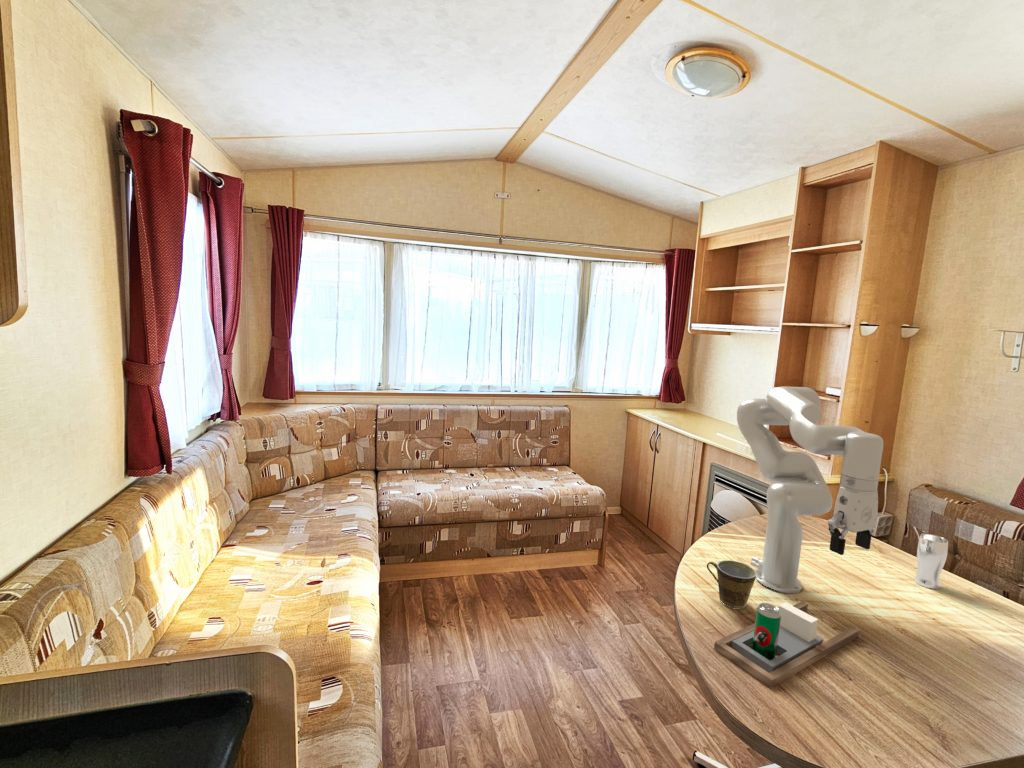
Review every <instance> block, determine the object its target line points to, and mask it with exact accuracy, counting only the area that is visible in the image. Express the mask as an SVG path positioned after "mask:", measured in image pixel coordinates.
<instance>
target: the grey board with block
mask: <svg viewBox="0 0 1024 768" xmlns="http://www.w3.org/2000/svg"><path fill="white" fill-rule="evenodd" d="M777 608H778V609H779V610H780V614H781V621H780V629H779V637H778V645H777V653H776V654H778V656H776V658H774V659H772V660H771V661H770V660H768V659H767V658H765V657H764V656H762V655H760V654H759V653H757V652H756V651H754V650H753V649H752V647H751V646H752V645H753V636H754V631H752V632H750V633H748V634H746V635H743V636H741V637H739V638H737V639H735V640H733V641H732V647H731V648H732V649H734V650H735V651H737V652H738V653H740V654H741V655H743V656H744V657H746V658H747V659H749V660H750V661H752V662H753V663H755V664H756V665H758V666H759V667H761V668H762V669H764V670H765V671H767V672H768V673H770V672H772V671H774V670H776V669H778V668H779V667H781V666H783V665H785V664H786V663H788V662H790V661H792V660H794V659H795V658H797V657H799V656H801V655H802V654H804V653H806V652H808V651H810V650H811V649H813V648H815V646H817V645H820V644H822V643H824V638H823V637H820V636H819V635H817V632H818V624H819V623H818V622H819V619H818V618H816V617H814V616H812V615H810V614H809V613H807V612H806V611H805V612H803V611H801V610H799V609H797V608H795V607H794V606H793V605H792V604H790V603H788V602H786V601H785V602H783V603H781V604H779V605H778V607H777Z"/></svg>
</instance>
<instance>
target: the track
mask: <svg viewBox="0 0 1024 768" xmlns="http://www.w3.org/2000/svg"><path fill="white" fill-rule="evenodd" d="M792 606H794V607H795V608H797V609H799V610H801V611H803V612H805V613H806V612H807V611H808V607H809V603H807V602H804V601H800V602H798V603H795V604H793V605H792ZM754 628H755V622H754V623H752V624H750V625H747V626H745V627H744V628H741V629H739V630H737V631H735V632H733V633H731V634H728V635H726V636H724V637H721V638H720V639H717V640H716V641H714V644H713V645H714V646H713V649H714V650H715V651H717V652H719V653H720V654H722V656H724V657H726V658H727V659H728V660H730V661H731V662H733V663H734V664H735V665H736V666H738V667H740V668H741V669H743V670H744V671H746V672H747V673H749V674H750V675H752V677H754V678H756V679H757V680H759V681H760V682H762V683H763V684H764V685H766V686H767V687H769V688H773V687H775V686H777V685H779V684H781V683H782V682H784V681H786V680H788V679H789V678H791V677H792V676H794V675H795V674H797V673H799V672H801V671H802V670H804V669H806V668H807V667H809V666H812V665H813V664H814V663H816V662H818V661H819V660H822V659H823V658H824V657H826V656H829V655H830V654H831V653H833V652H835V651H836V650H838V649H840V648H842V647H843V646H845V645H846V644H848V643H850V642H851V641H853V640H855V639H857V638H858V637H859V633H860V630H859V629H858V628H856V627H854V626H850V627H848V628H847V629H845V630H843V631H842V632H840V633H838V634H836V635H834V636H833V637H831V638H829V639H828V640H826V641H823V643H822V644H820V645H817V646H815V648H813V649H811V650H810V651H808V652H806V653H804V654H802V655H801V656H799V657H797V658H795V659H794V660H792V661H790V662H788V663H786V664H785V665H783V666H781V667H779V668H778V669H776V670H774V671H772V672H770V673H768V672H767V671H765V670H764V669H762V668H761V667H759V666H758V665H756V664H755V663H753V662H752V661H750V660H749V659H747V658H746V657H744V656H743V655H741V654H740V653H738V652H737V651H735V650H734V649H732V648H731V647H732V641H733V640H735V639H737V638H739V637H741V636H743V635H746V634H748V633H750V632H752V631H754Z"/></svg>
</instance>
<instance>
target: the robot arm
mask: <svg viewBox="0 0 1024 768" xmlns="http://www.w3.org/2000/svg"><path fill="white" fill-rule="evenodd" d="M765 397H766V398H750V399H747V400H744V401H742V402H741V403H739V405H738V407H737V410H736V422H737V425H738V429H739V430H740V432H741V435H743V438H744V439H745V440H746V443H748V445H749V446H750V450H751V452H752V455H753V456H754V459H755V461H756V464H757V466H758V468H759V470H760V472H761V475H762V476H763V477H764V478H765V480H767V481H770V482H774V483H772V484H770V485H769V486H768V487H767V490H766V504H767V505H766V506H767V518H766V519H767V520H766V528H765V530H766V531H765V538H764V545H763V554H762V559H760V558H759V557H757V556H752V558H751V562H750V565H751V566H753V567H755V568H757V570H755V572H756V578H755V580H756V579H757V580H758V581H759V582H760V583H761V584H760V583H759V582H758V581H757V580H756V581H757V582H758V583H759V584H760V585H762V584H763V585H764V586H763V585H762V586H763V587H765V586H766V587H765V588H767V587H769V588H771V589H770V590H772V589H774V590H773V591H775V590H777V591H776V592H778V591H781V592H780V593H783V592H785V593H784V594H797V593H800V592H801V591H802V589H803V583H802V581H801V580H800V579H798V575H799V574H798V573H799V566H800V558H801V550H802V543H803V535H804V533H803V532H804V531H803V526H802V524H801V522H800V521H799V519H798V516H800V515H801V516H802V515H807V516H808V515H813V516H814V515H815V516H816V515H817V516H818V515H819V516H821V515H825V514H828V512H829V513H830V511H831V510H832V508H834V509H833V515H832V517H830V518H829V519H828V520H827V525H828V531H829V535H830V542H829V550H830V551H831V552H833V553H836V554H838V555H840V556H844V553H845V548H846V547H845V546H846V538H845V537H846V536H847V534H848V532H850V533H856V535H855V542H854V544H855V545H856V546H858V547H860V548H862V549H865V550H870V549H871V542H872V537H873V536H872V534H873V533H874V531H875V530H874V529H875V528H876V527H877V524H878V518H879V513H878V509H879V494H878V486H879V478H880V474H881V473H880V472H881V464H882V459H883V458H882V457H883V450H884V439H883V438H882V437H881V436H880V435H878V434H875V433H871V432H866V431H864V430H862V429H860V428H858V427H856V426H850V425H831V424H830V425H828V424H827V425H826V424H818V423H819V421H820V419H821V414H822V412H821V409H820V405H821V398H820V396H819V394H818V393H817V392H816V390H814V389H813V388H811V387H807V386H785V385H782V386H776V387H773V388H771V390H769V391H768V392H767V394H766V396H765ZM764 425H765V426H764ZM767 425H768V426H789V433H790V434H791V439H792V440H793V441H794V442H795V443H797V444H798V445H799V446H800V447H801V448H802V449H805V450H806V451H808V452H810V453H812V454H815V455H822V456H823V455H825V456H826V455H827V456H828V455H829V456H831V455H833V456H843V457H842V461H841V462H842V464H841V471H840V477H839V489H838V491H837V496H836V498H835V502H834V501H833V496H832V493H831V490H830V488H829V485H828V484H827V482H826V480H825V478H824V476H823V474H822V473H821V470H820V469H819V467H818V465H817V463H816V461H815V460H814V459H813V457H812V456H810V454H808V453H805V452H801V451H789V450H785V449H784V448H783V447H782V445H781V443H780V440H779V439H778V437H777V436H776V435H775V434H774V433H773V432H772V430H770V429H769V428H767V427H766V426H767ZM833 502H834V507H833ZM839 529H840V530H841V531H840V530H839ZM769 588H768V589H769Z"/></svg>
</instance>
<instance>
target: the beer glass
mask: <svg viewBox="0 0 1024 768" xmlns="http://www.w3.org/2000/svg"><path fill="white" fill-rule="evenodd" d="M948 550H949V541H948V539H946V538H944V537H941V536H939V535H936V534H930V533H921V534H920V536H919V540H918V545H917V551H916V557H917V559H916V561H917V572H916V574H915V576H914V579H913V580H914V581H913V582H915V583H916V584H918V585H919V586H921V585H922V587H923V586H924V588H926V587H927V588H926V589H930V588H931V589H932V590H939V589H940V588H941V587H940V585H941V584H940V576H941V573H942V570H943V568H944V566H945V564H946V561H947V557H948V552H949V551H948Z"/></svg>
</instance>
